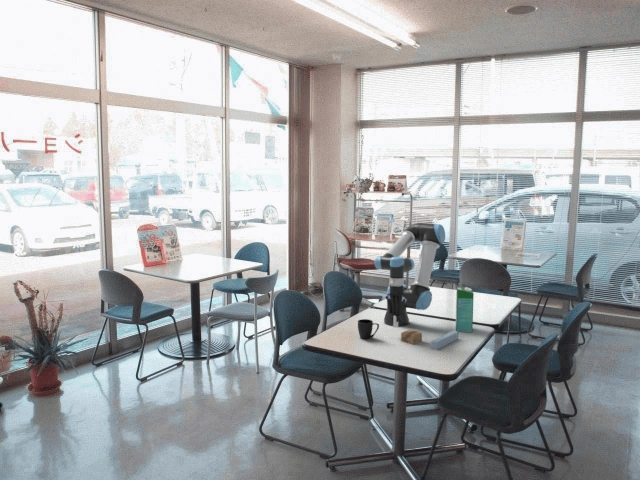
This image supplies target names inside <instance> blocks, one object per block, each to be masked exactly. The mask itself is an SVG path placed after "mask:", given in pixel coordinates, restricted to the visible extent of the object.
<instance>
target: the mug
mask: <svg viewBox="0 0 640 480" xmlns="http://www.w3.org/2000/svg"><path fill="white" fill-rule="evenodd" d="M373 325H376V326H377V327H376V329H375V332H374V333H373V334H372V332H373ZM379 327H380V324H379V323H376V322H375V323H374V322H373V320H371V319H368V318H367V319H366V318H365V319H364V318H363V319H359V320H357V330H358V331H357V332H358V335H359V338H360V339H361V340H370V339H372V338H374V336H375V335H376V333H377V332H378V330H379Z"/></svg>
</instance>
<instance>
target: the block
mask: <svg viewBox="0 0 640 480" xmlns="http://www.w3.org/2000/svg"><path fill="white" fill-rule="evenodd" d="M400 337H401V338H400V342H403V343H406V344H410V345H415V344H418V343H421V342H422V341H423V332H421V331H418V330H413V329H408V330H405V331H402V332H401V334H400Z"/></svg>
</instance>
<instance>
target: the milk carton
mask: <svg viewBox="0 0 640 480" xmlns="http://www.w3.org/2000/svg"><path fill="white" fill-rule="evenodd" d="M474 295H475V294H474V291H473V289H472V288H469V287H462V286H459V285H456V294H455V296H456V297H455V299H456V301H455V303H456V304H455V331H457V332H462V333H463V332H464V333H465V332H466V333H473V326H474V323H473V321H474V320H473V318H474V297H475V296H474Z"/></svg>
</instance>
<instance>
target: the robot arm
mask: <svg viewBox="0 0 640 480" xmlns="http://www.w3.org/2000/svg"><path fill="white" fill-rule="evenodd" d="M445 241H446V229H445V228H444V226H443V225H442V224H439V223H427V222H426V223H425V222H417V223H415V224H411V225H410V226H408V227H407V228H405V229H403V231H402V232H401V233H400V237H398V239H397V240H396V241H395V242H394V243H393V244H392V245H391V246H390V248H389V249H388V250H387V251H386V252H385V253H384V255H380V256H379V255H378V256H376V257H375V259H374V267H375V268H376V269H377V270H381V271H383V270H385V271H389V285H388V287H387V292H386V296H385V299H386V313H385V315H384V317H383V322H384V324H385V325H389V326H392V327H393V328H398V327H402V326H408V325H409V324H410V318H409V315H408V312H407V309H414V310H419V311H426V310H427V309H428V308H429V307H430V306H431V303H432V300H433V293H432V291H431V288H430V286H429V284H430V279H431V275H432V270H433V266H434V262H435V257H436V253H437V249H439V248H440V246H441V244H444V243H445ZM416 242H418V243H420V245H421V246H422V247H421V250H420V251H421V252H420V256H419V259H418V264H417V267H416V268H417V269H416V272H415V273H416V274H415V276H414V281H413V283H411V284H410V287H409V288H408V286H407V285H406V284H405V283H404V281H405V280H404V279H405V278H404V276H405V273H408V272H410V271H412V270H413V269H414V268H415V262H414V260H413V259H412V258H410V257H402V255H403V253H404V252H405V251H406V250H407V249H408V248H409V246H411V245H413V244H414V243H416Z"/></svg>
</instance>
